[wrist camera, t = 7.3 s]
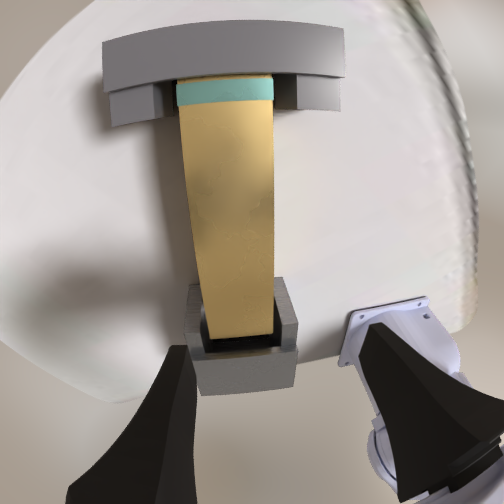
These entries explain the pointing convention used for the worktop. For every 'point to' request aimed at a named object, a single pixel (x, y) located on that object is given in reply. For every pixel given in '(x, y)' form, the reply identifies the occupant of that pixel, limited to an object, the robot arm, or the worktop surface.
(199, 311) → the sleeve
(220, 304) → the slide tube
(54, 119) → the worktop surface
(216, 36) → the socket
